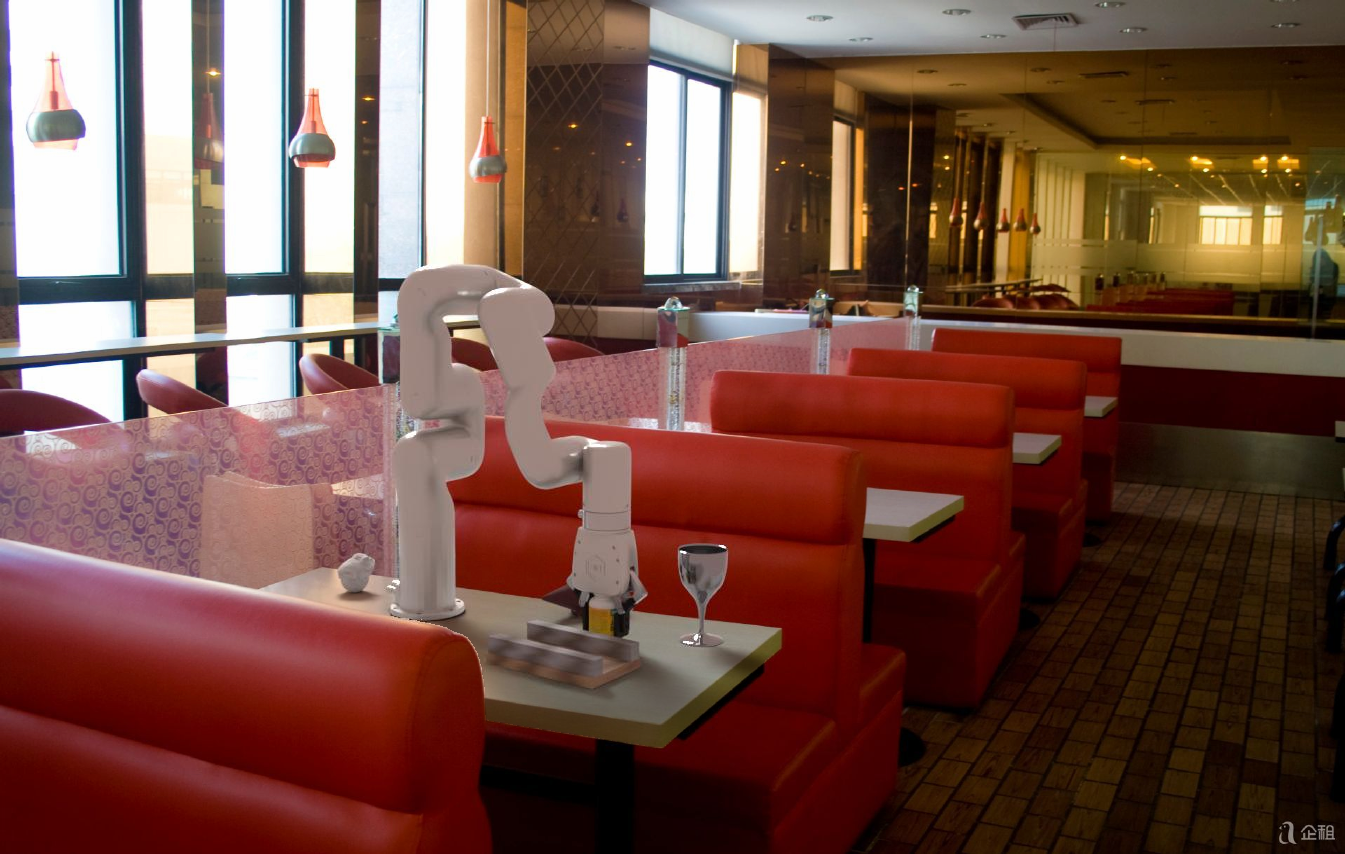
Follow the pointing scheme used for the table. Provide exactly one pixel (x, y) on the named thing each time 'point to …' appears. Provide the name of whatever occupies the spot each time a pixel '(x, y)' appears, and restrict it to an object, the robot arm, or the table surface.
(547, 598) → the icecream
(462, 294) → the robot arm
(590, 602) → the supplement bottle
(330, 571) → the table surface
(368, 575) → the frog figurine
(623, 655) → the sliding track
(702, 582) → the wine glass
